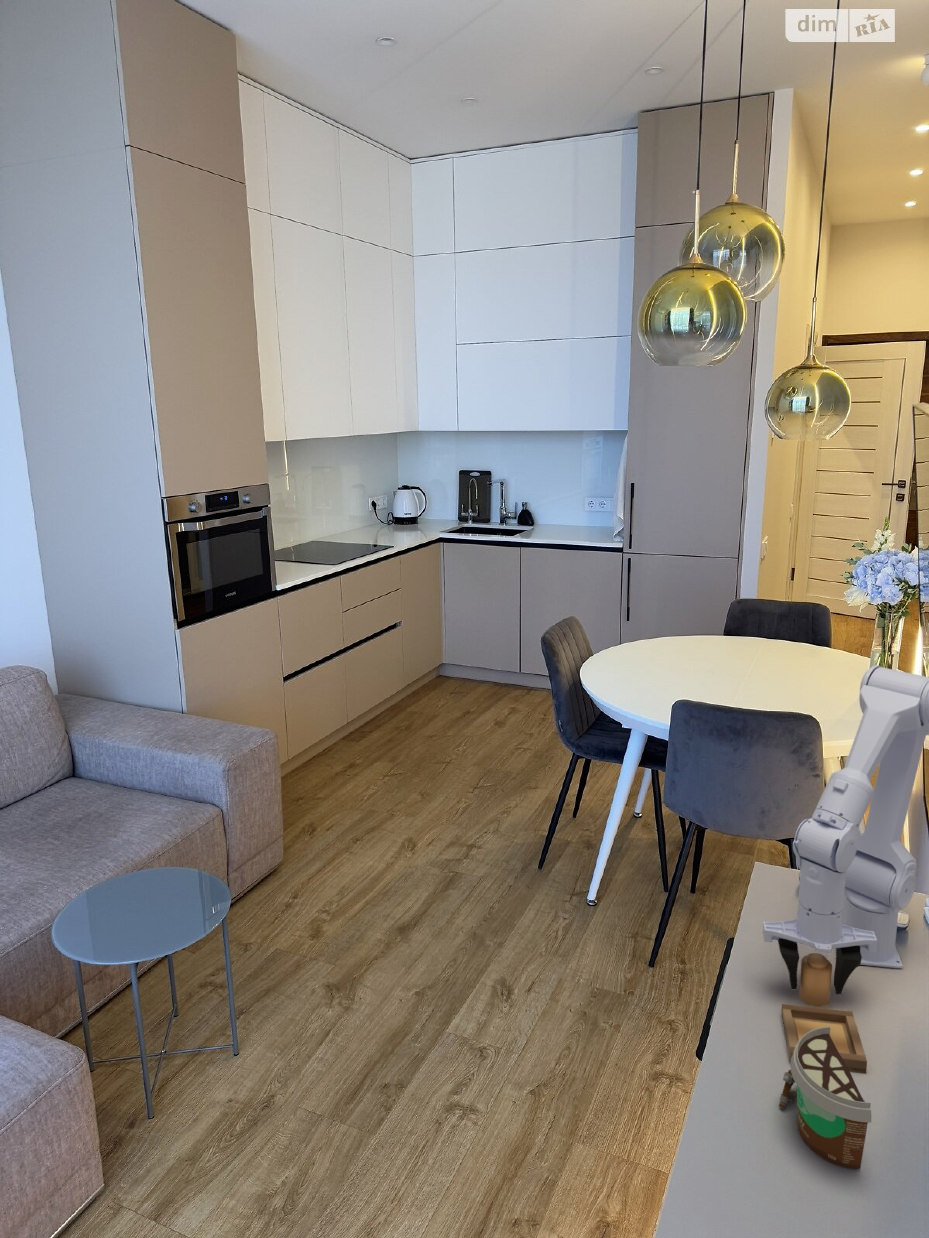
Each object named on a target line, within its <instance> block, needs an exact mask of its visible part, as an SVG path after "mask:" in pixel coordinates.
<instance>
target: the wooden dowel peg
mask: <svg viewBox="0 0 929 1238" xmlns="http://www.w3.org/2000/svg"><path fill="white" fill-rule="evenodd" d="M800 961H801V964H800V978H799V991H798V992H799V993H798V994H799V997H800V999H801V1000H802V1001H803V1002H804V1003H805V1004H807V1005H809V1006H810V1007H816V1008H824V1007H826V1006H827V1005H829V1003H830V1001H831V989H832V988H831V987H832V974H833V964H832V962H831V960H829V959H828V958H827V957H826V956H824V955H823V954H821V953H819V952H812V953H808V954H807V955H804V956H803V957H802V958H801V960H800Z"/></svg>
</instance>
